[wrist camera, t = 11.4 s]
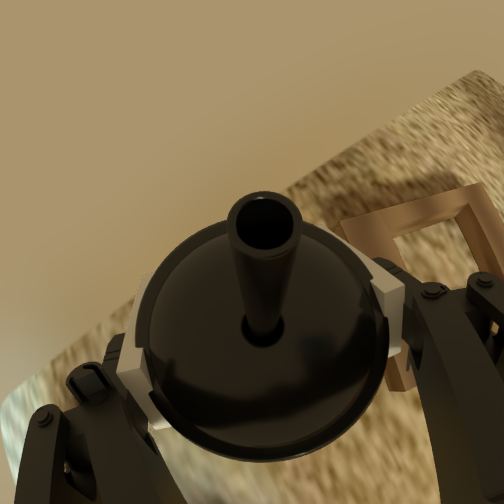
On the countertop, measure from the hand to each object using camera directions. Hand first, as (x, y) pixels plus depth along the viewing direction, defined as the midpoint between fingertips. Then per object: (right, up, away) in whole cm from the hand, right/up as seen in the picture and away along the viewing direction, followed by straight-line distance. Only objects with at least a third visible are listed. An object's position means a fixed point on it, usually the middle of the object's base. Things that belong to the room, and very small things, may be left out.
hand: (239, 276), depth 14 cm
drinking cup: (+1, -7, +7) cm, 10 cm away
